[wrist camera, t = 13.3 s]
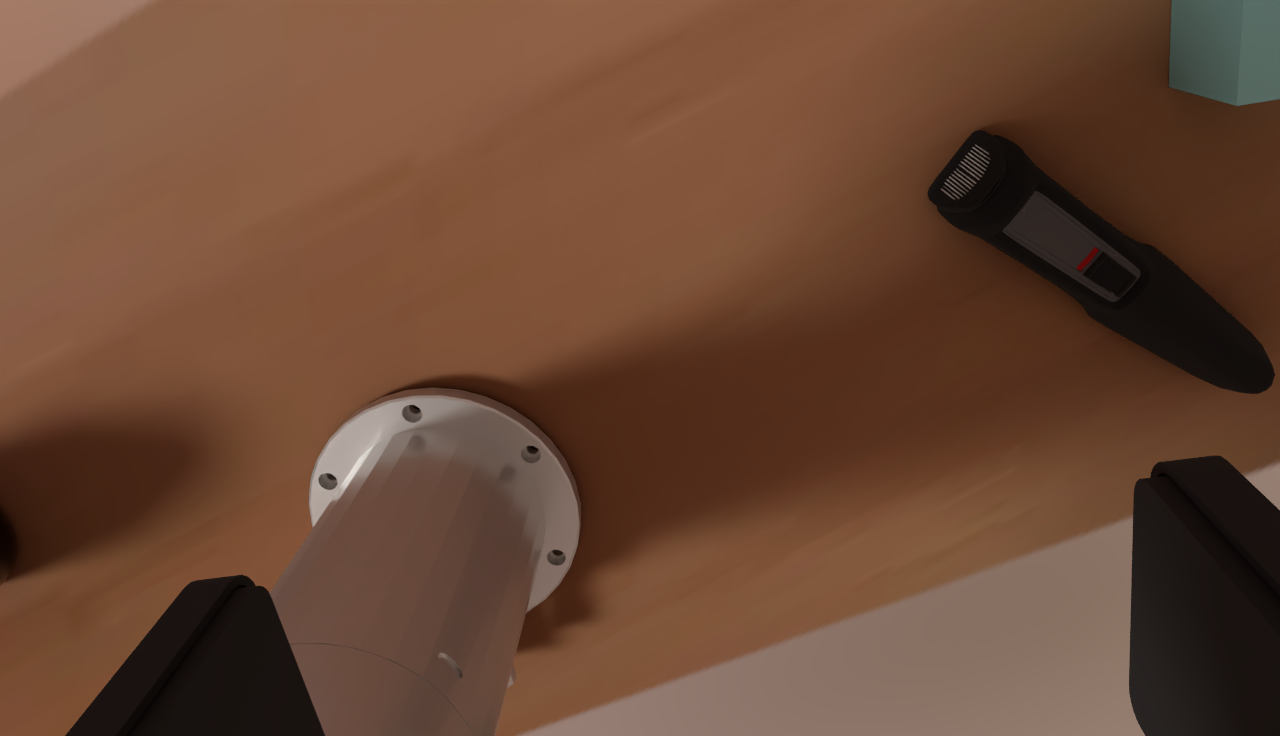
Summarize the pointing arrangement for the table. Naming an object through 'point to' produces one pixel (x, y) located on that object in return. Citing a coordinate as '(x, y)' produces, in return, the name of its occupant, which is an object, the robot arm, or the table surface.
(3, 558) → the supplement bottle
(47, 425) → the table surface
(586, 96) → the table surface
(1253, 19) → the socket stand
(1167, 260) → the electric trimmer
